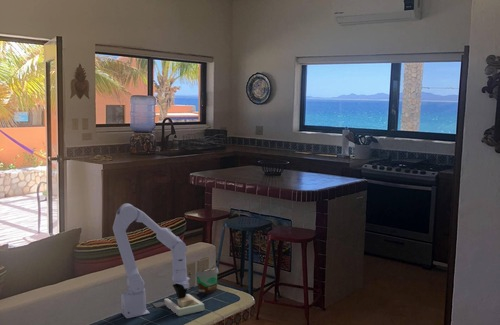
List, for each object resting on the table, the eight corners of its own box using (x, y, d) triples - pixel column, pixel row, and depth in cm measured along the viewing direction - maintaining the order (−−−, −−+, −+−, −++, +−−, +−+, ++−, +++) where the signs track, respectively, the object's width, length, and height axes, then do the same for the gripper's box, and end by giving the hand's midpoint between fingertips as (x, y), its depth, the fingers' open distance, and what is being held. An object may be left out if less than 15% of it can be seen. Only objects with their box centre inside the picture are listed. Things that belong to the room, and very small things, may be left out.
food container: (207, 296, 233) (205, 273, 232) (196, 293, 237) (195, 271, 236) (225, 288, 243) (224, 266, 242) (215, 286, 246) (213, 264, 246)
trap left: (156, 308, 221) (156, 307, 221) (152, 304, 225) (151, 303, 225) (166, 305, 223) (166, 305, 223) (162, 302, 228) (162, 301, 228)
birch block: (182, 311, 215) (182, 302, 215) (178, 308, 219) (177, 298, 219) (194, 309, 217) (193, 299, 217) (189, 305, 222) (188, 296, 221)
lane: (178, 316, 210) (178, 309, 209) (164, 304, 224) (164, 298, 224) (204, 310, 215) (204, 304, 215) (189, 299, 229) (188, 293, 229)
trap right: (190, 300, 228) (190, 300, 228) (185, 297, 232) (185, 296, 232) (200, 298, 230) (199, 297, 230) (195, 295, 235) (195, 294, 235)
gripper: (195, 271, 216) (197, 304, 217) (182, 263, 229) (184, 294, 230) (178, 274, 213) (181, 307, 214) (166, 266, 226) (168, 298, 227)
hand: (181, 301), depth 222 cm, fingers closed
